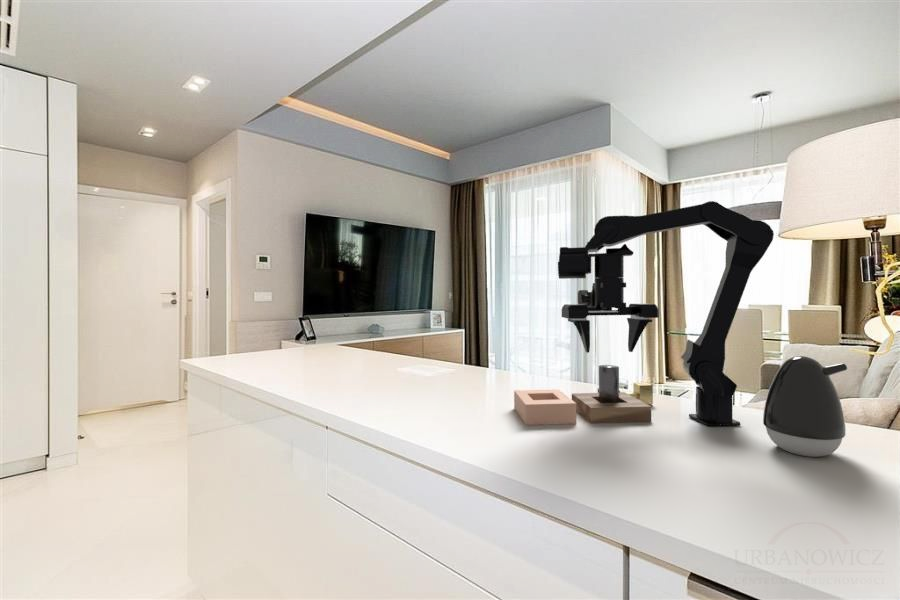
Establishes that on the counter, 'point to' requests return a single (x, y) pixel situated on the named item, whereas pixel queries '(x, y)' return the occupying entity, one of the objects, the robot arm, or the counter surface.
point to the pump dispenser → (805, 408)
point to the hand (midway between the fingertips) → (609, 352)
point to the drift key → (643, 392)
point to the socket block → (611, 408)
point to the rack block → (544, 407)
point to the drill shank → (608, 384)
